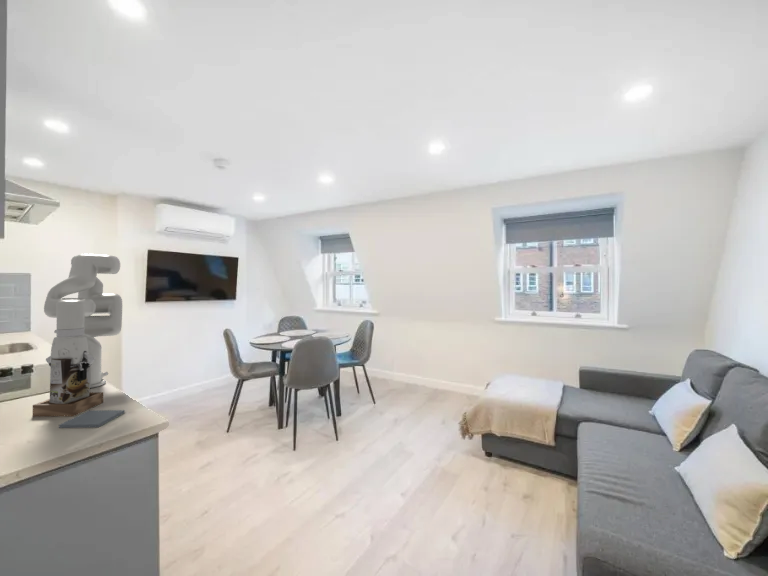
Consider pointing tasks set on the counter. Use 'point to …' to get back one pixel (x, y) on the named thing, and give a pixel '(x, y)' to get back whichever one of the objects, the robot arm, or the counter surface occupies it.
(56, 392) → the dessert mix box
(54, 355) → the robot arm
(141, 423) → the counter surface
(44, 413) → the walnut dock
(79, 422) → the slate mat
